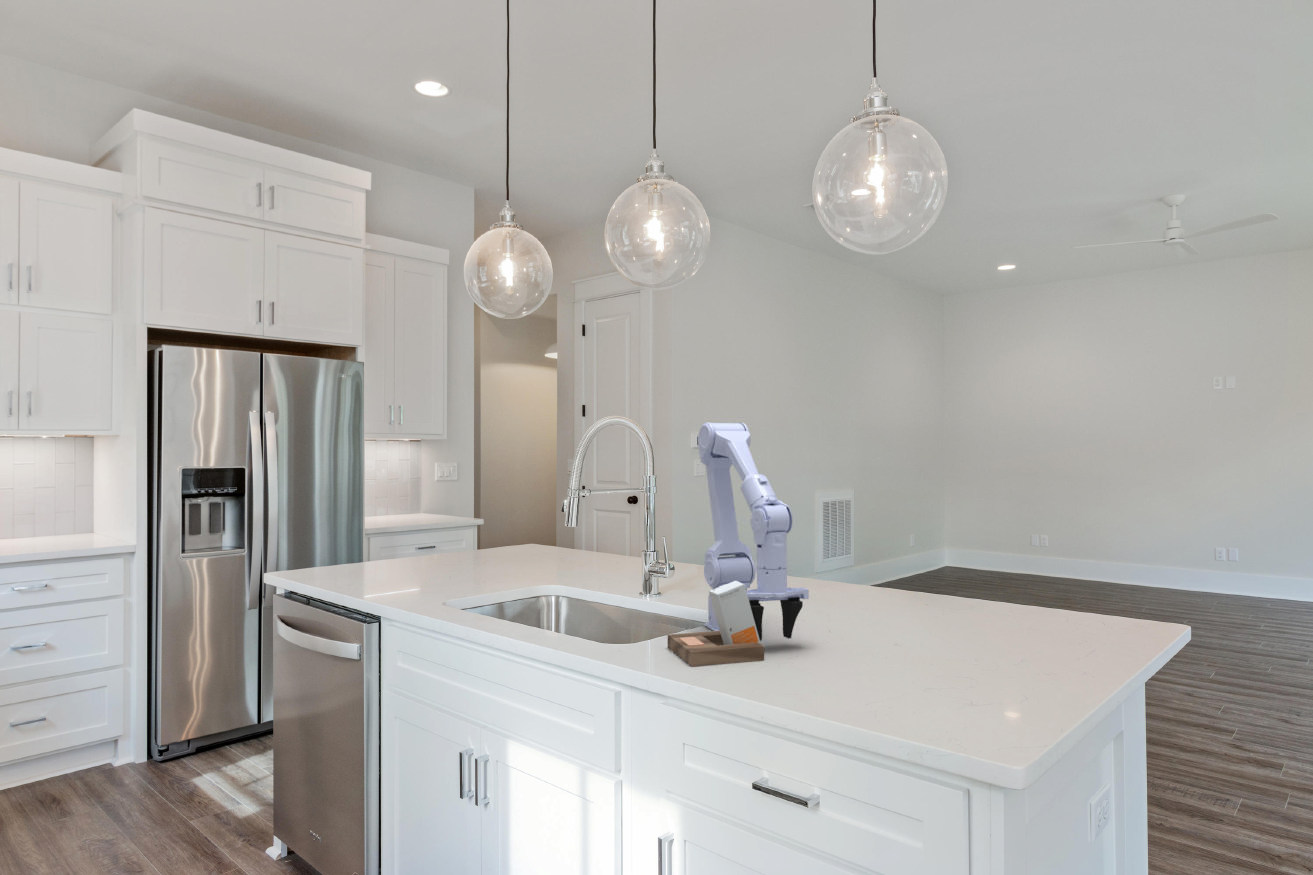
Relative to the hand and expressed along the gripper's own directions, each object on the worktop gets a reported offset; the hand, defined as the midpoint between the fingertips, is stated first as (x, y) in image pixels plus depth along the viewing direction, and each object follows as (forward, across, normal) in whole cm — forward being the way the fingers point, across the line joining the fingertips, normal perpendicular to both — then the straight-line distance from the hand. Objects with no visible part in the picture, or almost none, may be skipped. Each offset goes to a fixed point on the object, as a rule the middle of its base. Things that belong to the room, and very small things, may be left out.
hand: (772, 638), depth 149 cm
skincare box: (+1, -6, 0) cm, 6 cm away
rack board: (+2, -12, 0) cm, 12 cm away
